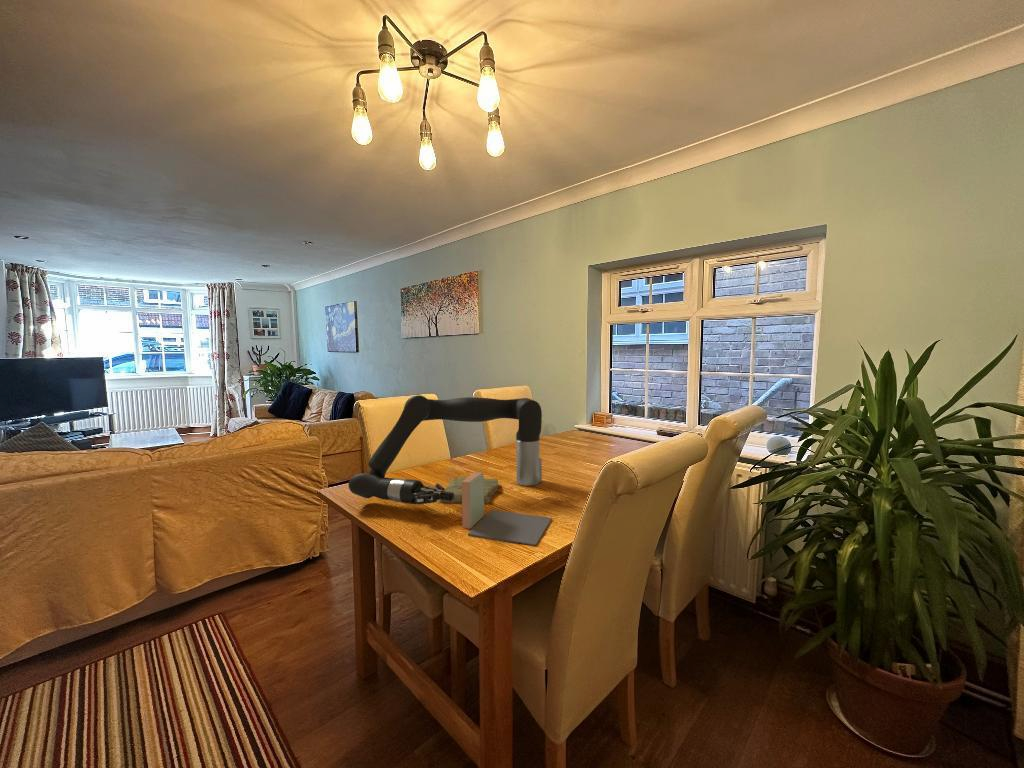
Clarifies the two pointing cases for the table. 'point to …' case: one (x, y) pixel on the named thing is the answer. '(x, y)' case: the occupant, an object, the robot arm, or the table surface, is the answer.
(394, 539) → the table surface
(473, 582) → the table surface
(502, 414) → the robot arm
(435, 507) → the table surface
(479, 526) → the charcoal mat
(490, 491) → the olive green flat block
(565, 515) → the table surface
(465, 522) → the glazed tile
